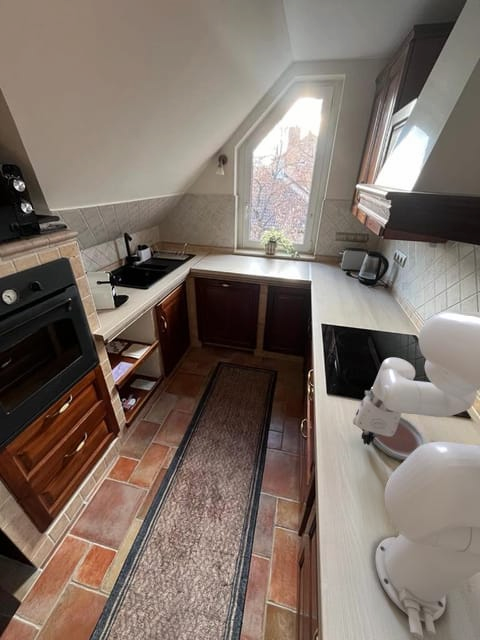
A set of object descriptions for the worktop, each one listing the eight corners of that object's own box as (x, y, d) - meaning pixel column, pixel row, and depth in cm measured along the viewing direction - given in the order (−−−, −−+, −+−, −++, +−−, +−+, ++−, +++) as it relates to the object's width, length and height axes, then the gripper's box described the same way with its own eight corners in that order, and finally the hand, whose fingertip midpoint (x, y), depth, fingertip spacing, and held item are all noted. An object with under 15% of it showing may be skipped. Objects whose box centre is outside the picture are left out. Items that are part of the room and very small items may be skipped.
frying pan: (402, 500, 64) (359, 409, 88) (398, 505, 65) (357, 415, 89) (469, 502, 64) (408, 411, 88) (464, 508, 65) (405, 416, 89)
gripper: (356, 400, 69) (340, 442, 78) (418, 417, 65) (394, 460, 74) (355, 382, 75) (340, 423, 84) (412, 396, 71) (390, 438, 80)
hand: (365, 440), depth 79 cm, fingers closed
